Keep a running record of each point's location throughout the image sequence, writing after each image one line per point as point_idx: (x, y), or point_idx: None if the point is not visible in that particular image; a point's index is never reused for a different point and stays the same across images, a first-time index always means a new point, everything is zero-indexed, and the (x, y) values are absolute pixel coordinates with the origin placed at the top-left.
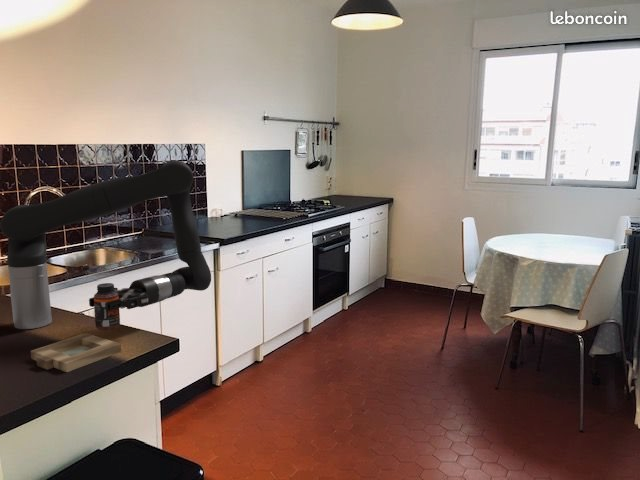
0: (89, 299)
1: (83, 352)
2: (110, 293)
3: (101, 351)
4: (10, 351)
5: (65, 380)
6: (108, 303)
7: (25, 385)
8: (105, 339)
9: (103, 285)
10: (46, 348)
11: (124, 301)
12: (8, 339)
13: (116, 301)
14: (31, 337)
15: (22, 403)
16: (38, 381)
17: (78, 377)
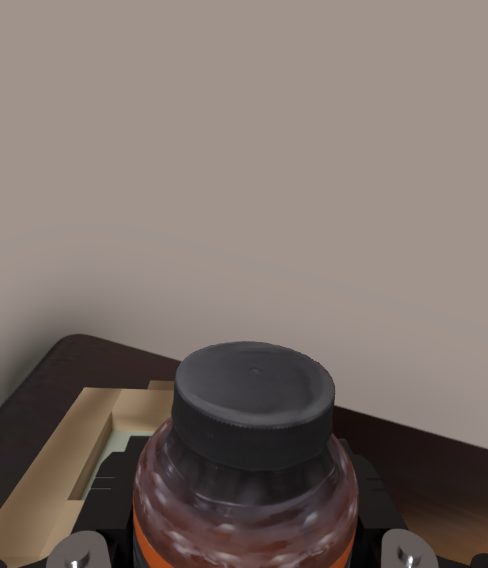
0: (339, 440)
1: (92, 436)
2: (169, 430)
3: (29, 469)
4: (355, 417)
5: (54, 392)
6: (128, 444)
7: (126, 363)
8: None
9: (243, 356)
10: None
11: (29, 566)
12: (482, 451)
13: (108, 508)
14: (473, 491)
15: (72, 343)
16: (115, 375)
17: (29, 407)
